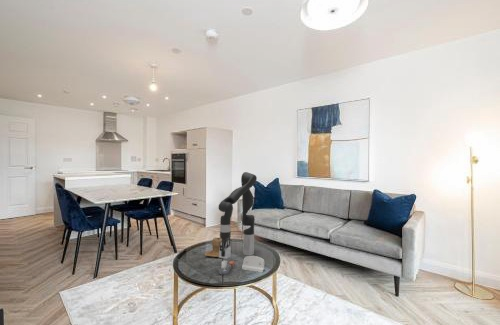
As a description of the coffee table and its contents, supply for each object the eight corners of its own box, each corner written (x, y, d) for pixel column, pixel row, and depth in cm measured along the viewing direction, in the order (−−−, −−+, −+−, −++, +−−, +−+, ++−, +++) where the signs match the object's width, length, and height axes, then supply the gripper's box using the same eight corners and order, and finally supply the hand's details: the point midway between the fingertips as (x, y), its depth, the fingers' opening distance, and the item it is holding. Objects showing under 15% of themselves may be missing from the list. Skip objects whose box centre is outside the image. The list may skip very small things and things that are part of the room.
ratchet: (226, 275, 161) (227, 263, 162) (217, 274, 164) (217, 262, 164) (236, 265, 179) (237, 254, 180) (228, 264, 182) (228, 253, 182)
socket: (227, 258, 162) (227, 248, 163) (219, 257, 164) (219, 247, 165) (230, 255, 168) (230, 245, 168) (222, 254, 170) (222, 244, 170)
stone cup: (226, 254, 204) (227, 236, 205) (222, 259, 192) (222, 240, 193) (210, 252, 207) (210, 235, 208) (204, 257, 195) (205, 239, 196)
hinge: (241, 269, 173) (242, 254, 177) (243, 268, 177) (245, 254, 181) (263, 272, 167) (264, 257, 171) (264, 272, 172) (266, 257, 175)
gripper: (226, 233, 159) (225, 259, 158) (234, 228, 173) (233, 252, 172) (215, 232, 161) (215, 257, 161) (224, 228, 175) (224, 251, 174)
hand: (224, 254), depth 166 cm, fingers closed on socket, 6 cm apart
